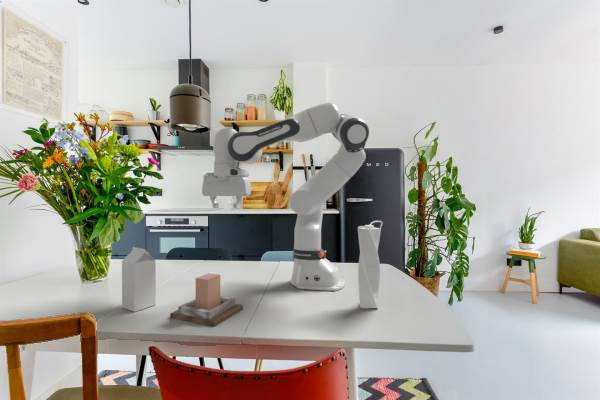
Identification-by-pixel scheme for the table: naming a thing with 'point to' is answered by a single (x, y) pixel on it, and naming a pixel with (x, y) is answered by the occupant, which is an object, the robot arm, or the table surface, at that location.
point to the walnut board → (207, 312)
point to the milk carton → (138, 280)
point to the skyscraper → (369, 265)
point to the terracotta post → (208, 291)
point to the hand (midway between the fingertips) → (225, 208)
